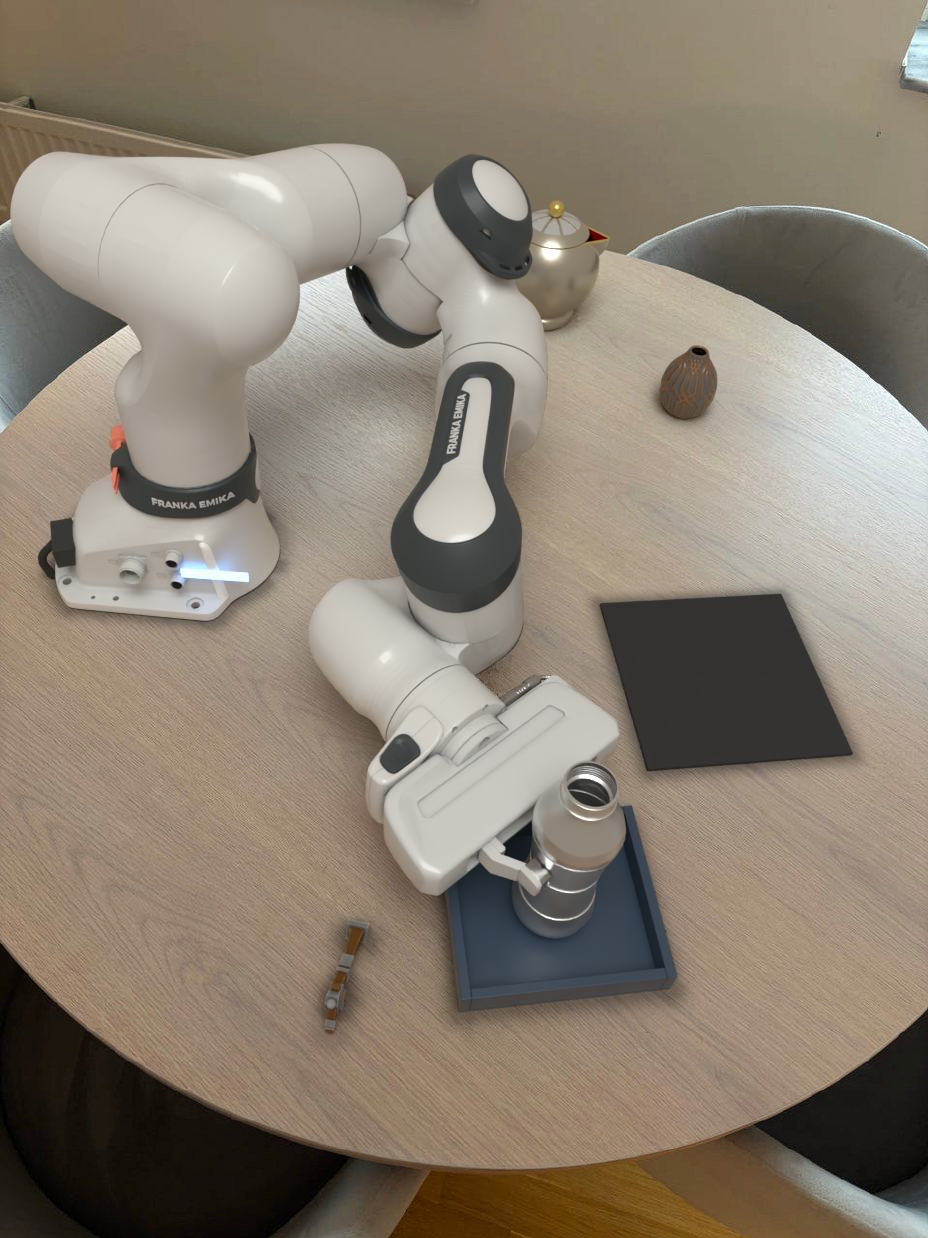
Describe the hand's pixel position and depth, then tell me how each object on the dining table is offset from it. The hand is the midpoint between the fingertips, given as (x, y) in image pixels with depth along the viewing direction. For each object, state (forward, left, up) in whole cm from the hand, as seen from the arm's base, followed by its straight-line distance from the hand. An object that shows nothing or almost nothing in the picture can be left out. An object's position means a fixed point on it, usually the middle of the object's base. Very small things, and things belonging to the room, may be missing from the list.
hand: (578, 857), depth 69 cm
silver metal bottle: (-1, +1, -11) cm, 11 cm away
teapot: (+13, +87, -11) cm, 88 cm away
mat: (+21, +23, -11) cm, 33 cm away
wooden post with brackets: (-17, -3, -11) cm, 21 cm away
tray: (-1, +1, -11) cm, 11 cm away
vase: (+29, +65, -11) cm, 72 cm away
